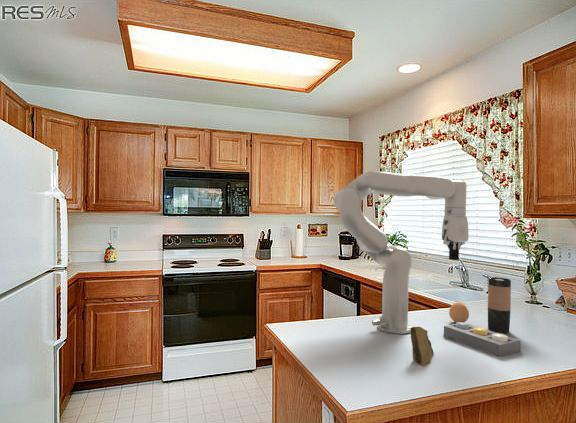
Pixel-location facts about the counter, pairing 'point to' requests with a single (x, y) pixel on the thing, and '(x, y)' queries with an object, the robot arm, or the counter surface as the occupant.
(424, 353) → the rock
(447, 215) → the robot arm
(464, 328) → the slate button
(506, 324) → the travel mug
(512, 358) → the counter surface
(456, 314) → the egg
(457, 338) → the button console
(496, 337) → the ivory button
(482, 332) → the mustard button
